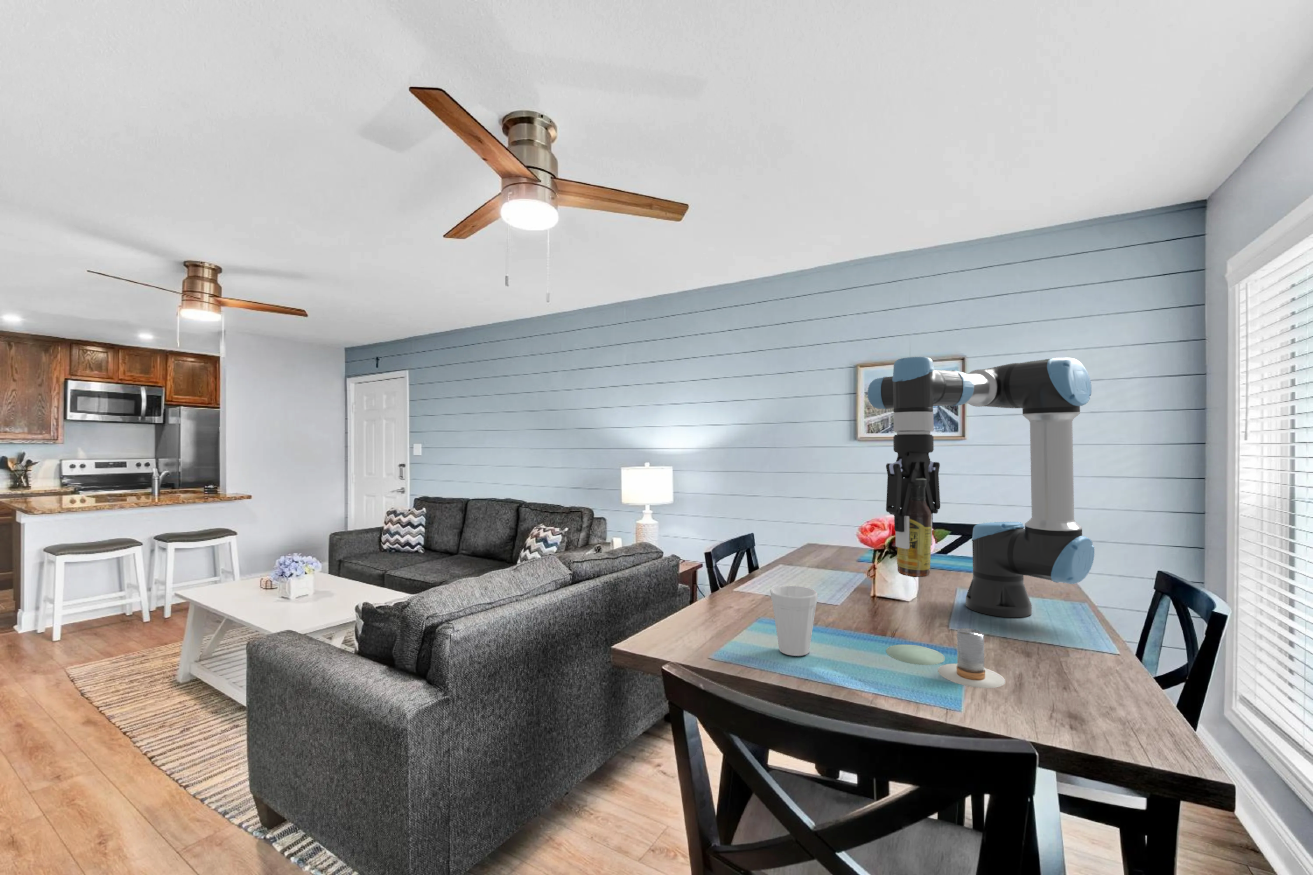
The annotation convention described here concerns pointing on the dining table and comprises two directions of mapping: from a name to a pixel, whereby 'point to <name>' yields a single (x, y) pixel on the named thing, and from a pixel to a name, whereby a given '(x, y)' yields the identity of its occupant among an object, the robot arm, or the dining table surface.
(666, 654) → the dining table surface
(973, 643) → the glass jar
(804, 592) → the cup
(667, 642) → the dining table surface
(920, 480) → the sauce bottle
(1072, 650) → the dining table surface
